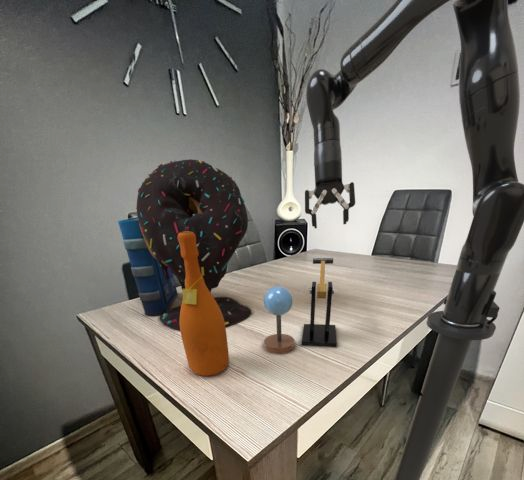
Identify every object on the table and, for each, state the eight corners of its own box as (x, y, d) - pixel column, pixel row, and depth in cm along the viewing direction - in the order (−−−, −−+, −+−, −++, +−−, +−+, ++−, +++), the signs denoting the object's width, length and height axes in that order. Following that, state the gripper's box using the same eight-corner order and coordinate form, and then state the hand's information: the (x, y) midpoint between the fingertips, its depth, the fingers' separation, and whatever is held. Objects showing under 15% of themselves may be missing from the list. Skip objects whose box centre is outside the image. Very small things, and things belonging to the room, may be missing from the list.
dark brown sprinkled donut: (264, 320, 87) (255, 146, 64) (158, 339, 80) (106, 149, 57) (242, 293, 112) (230, 160, 89) (160, 305, 104) (124, 163, 82)
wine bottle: (183, 364, 67) (151, 232, 52) (218, 351, 71) (199, 226, 56) (199, 383, 60) (168, 237, 45) (237, 367, 64) (221, 230, 49)
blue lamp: (297, 340, 74) (298, 282, 66) (289, 355, 68) (289, 293, 60) (270, 337, 77) (267, 281, 69) (259, 351, 71) (255, 291, 62)
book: (167, 315, 95) (144, 219, 80) (142, 317, 95) (114, 221, 80) (181, 293, 116) (164, 214, 101) (160, 295, 116) (140, 216, 101)
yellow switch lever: (313, 263, 78) (313, 255, 76) (332, 262, 77) (333, 255, 75) (310, 298, 70) (310, 291, 68) (332, 298, 69) (333, 291, 67)
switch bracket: (304, 327, 81) (305, 278, 74) (335, 328, 80) (339, 278, 72) (301, 345, 72) (302, 291, 65) (336, 347, 70) (341, 291, 63)
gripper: (301, 164, 75) (305, 228, 80) (356, 154, 72) (356, 221, 77) (303, 172, 82) (306, 230, 87) (352, 162, 79) (353, 223, 84)
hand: (330, 226), depth 82 cm, fingers open, 8 cm apart
